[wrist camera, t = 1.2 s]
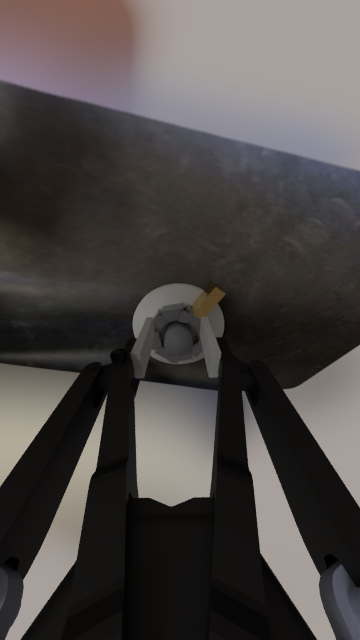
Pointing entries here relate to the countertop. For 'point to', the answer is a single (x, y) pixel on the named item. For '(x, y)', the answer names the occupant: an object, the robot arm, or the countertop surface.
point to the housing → (175, 332)
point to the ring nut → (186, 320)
